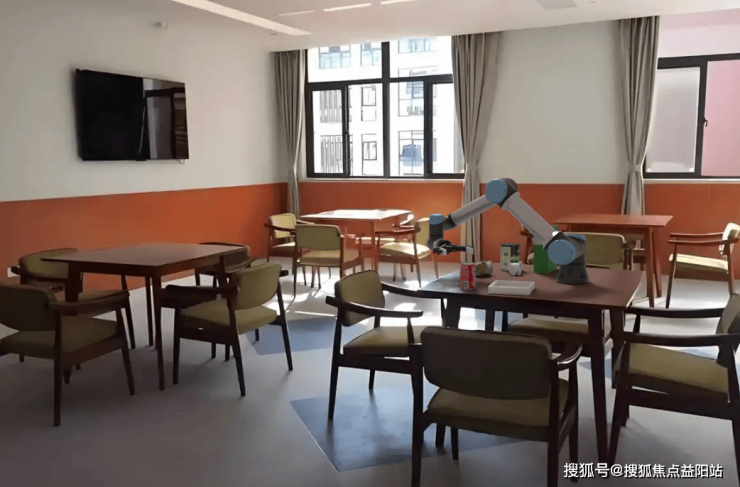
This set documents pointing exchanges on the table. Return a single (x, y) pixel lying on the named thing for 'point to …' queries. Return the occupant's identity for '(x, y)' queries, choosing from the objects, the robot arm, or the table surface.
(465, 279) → the soda can
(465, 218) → the robot arm
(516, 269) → the elephant figurine
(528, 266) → the table surface
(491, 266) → the ceramic sculpture
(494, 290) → the tray
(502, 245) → the coffee can
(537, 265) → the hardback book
